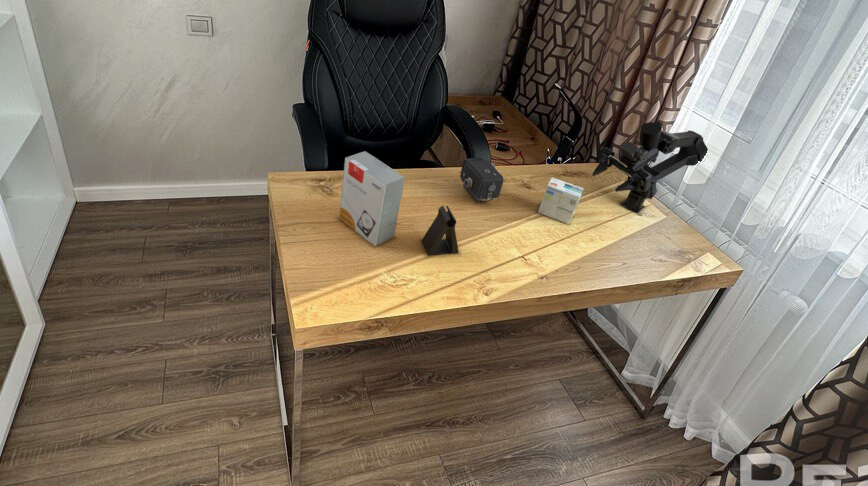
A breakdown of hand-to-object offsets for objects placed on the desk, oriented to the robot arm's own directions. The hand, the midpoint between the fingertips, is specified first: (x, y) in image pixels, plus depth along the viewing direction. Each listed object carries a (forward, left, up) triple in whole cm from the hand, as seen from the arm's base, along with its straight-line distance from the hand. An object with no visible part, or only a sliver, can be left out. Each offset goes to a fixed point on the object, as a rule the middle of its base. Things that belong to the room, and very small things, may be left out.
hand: (603, 182), depth 157 cm
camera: (+21, -30, -14) cm, 40 cm away
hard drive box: (+63, -37, -14) cm, 75 cm away
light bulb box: (+7, -8, -14) cm, 18 cm away
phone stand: (+52, -19, -14) cm, 57 cm away
